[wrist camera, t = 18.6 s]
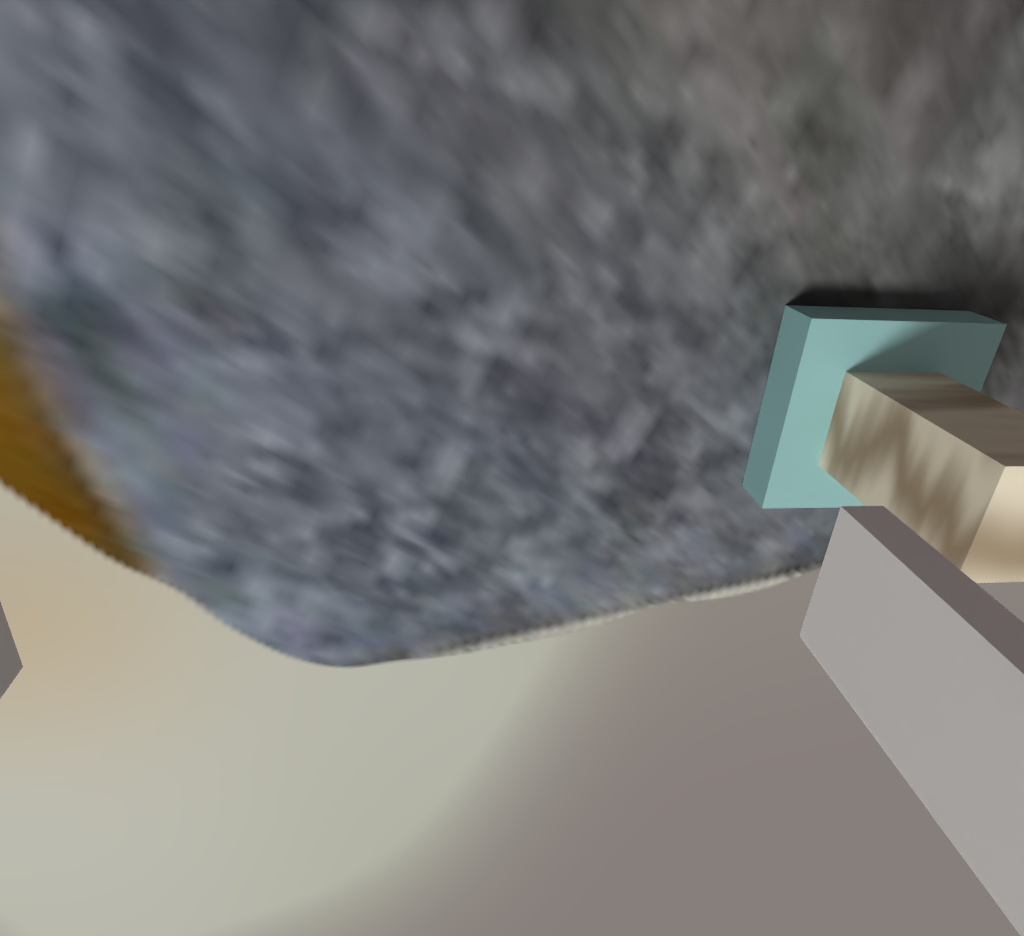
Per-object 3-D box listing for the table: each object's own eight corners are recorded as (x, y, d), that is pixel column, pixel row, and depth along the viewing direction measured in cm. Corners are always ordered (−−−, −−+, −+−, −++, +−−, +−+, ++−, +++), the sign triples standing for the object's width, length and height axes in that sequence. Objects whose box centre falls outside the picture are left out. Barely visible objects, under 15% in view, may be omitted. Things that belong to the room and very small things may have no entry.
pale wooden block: (845, 371, 39) (1005, 466, 28) (940, 373, 40) (1129, 465, 29) (818, 465, 42) (954, 583, 31) (907, 464, 43) (1069, 580, 32)
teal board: (785, 305, 40) (811, 318, 37) (969, 310, 42) (1007, 324, 39) (742, 485, 45) (761, 508, 43) (906, 484, 47) (935, 506, 44)
